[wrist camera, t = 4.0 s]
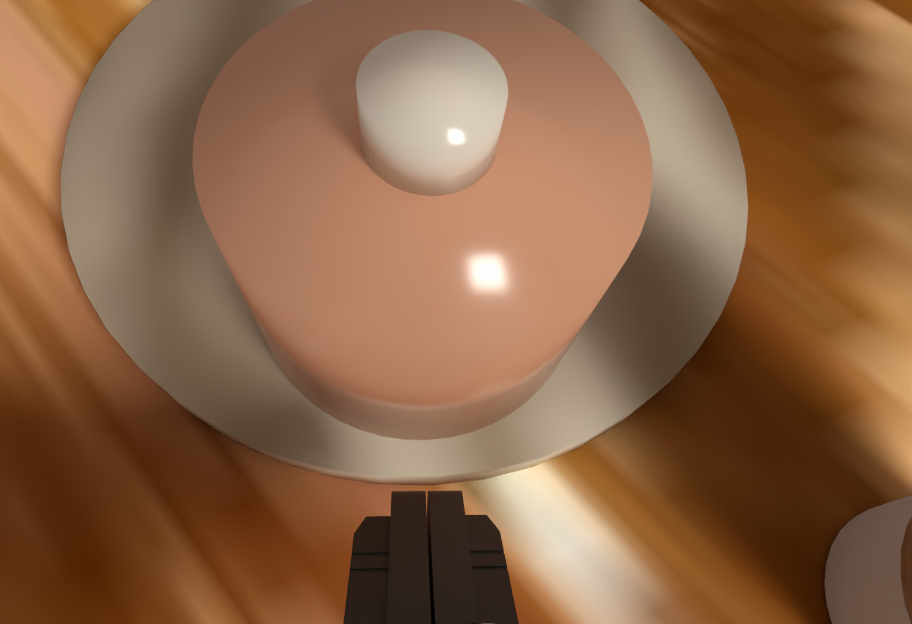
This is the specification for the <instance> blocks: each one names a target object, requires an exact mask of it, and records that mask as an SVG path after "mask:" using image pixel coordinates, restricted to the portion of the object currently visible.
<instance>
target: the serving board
mask: <svg viewBox="0 0 912 624" xmlns="http://www.w3.org/2000/svg"><path fill="white" fill-rule="evenodd" d="M310 1H313V0H154V1H152V2H151V3H150V4H149V5H148V6H146V7H145V8H144V9H143V10H142V11H141V12H140V13H139V14H138V15H137V16H136V17H135V18H134V19H133V20H132V21H131V22H130V23H129V24H128V25H127V26H126V27H125V29H124V30H123V31H122V32H121V33H120V34H119V35H118V36H117V37H116V38H115V40H114V41H113V43H112V44H111V45H110V47H109V48H108V50H107V51H106V52H105V54H104V55H103V57H102V58H101V59H100V61H99V62H98V64H97V65H96V66H95V68H94V70H93V72H92V74H91V76H90V78H89V80H88V82H87V84H86V86H85V88H84V89H83V91H82V93H81V95H80V97H79V99H78V102H77V105H76V108H75V111H74V114H73V117H72V120H71V123H70V126H69V129H68V132H67V136H66V142H65V149H64V155H63V162H62V168H61V212H62V217H63V222H64V227H65V232H66V237H67V243H68V248H69V252H70V255H71V258H72V260H73V263H74V265H75V268H76V271H77V273H78V276H79V278H80V281H81V284H82V286H83V289H84V292H85V293H86V295H87V297H88V298H89V300H90V302H91V303H92V305H93V307H94V308H95V310H96V312H97V314H98V315H99V317H100V319H101V320H102V322H103V324H104V325H105V327H106V329H107V330H108V332H109V333H110V334H111V335H112V336H113V338H114V339H115V340H116V341H117V342H118V343H119V345H120V346H121V347H122V348H123V349H124V351H125V352H126V353H127V354H128V355H129V357H130V358H131V359H132V360H133V361H134V363H135V364H136V365H137V366H138V367H139V368H140V369H141V370H142V371H143V372H144V373H145V374H146V375H148V376H149V377H150V378H151V379H152V380H153V381H154V382H155V383H156V384H157V385H159V386H160V387H161V388H162V389H163V390H164V391H165V392H167V393H168V394H169V395H170V396H171V397H172V398H173V399H175V400H176V401H177V402H178V403H179V404H180V405H182V406H183V407H184V408H185V409H186V410H187V411H188V412H190V413H191V414H192V415H194V416H195V417H197V418H198V419H200V420H201V421H203V422H205V423H206V424H208V425H209V426H211V427H212V428H214V429H216V430H217V431H219V432H220V433H222V434H223V435H225V436H227V437H228V438H230V439H231V440H233V441H235V442H237V443H239V444H241V445H244V446H246V447H248V448H250V449H253V450H255V451H257V452H259V453H261V454H264V455H266V456H268V457H270V458H273V459H275V460H277V461H279V462H282V463H286V464H289V465H293V466H296V467H299V468H303V469H306V470H310V471H313V472H316V473H320V474H323V475H327V476H331V477H337V478H344V479H350V480H357V481H363V482H370V483H377V484H399V485H439V484H447V483H456V482H464V481H473V480H481V479H487V478H491V477H495V476H499V475H503V474H506V473H510V472H514V471H518V470H522V469H526V468H530V467H533V466H536V465H538V464H541V463H543V462H546V461H548V460H550V459H553V458H555V457H558V456H560V455H563V454H565V453H567V452H570V451H572V450H575V449H577V448H579V447H581V446H582V445H584V444H586V443H587V442H589V441H591V440H593V439H594V438H596V437H598V436H599V435H601V434H603V433H604V432H606V431H608V430H609V429H611V428H613V427H615V426H616V425H618V424H619V423H620V422H621V421H623V420H624V419H625V418H626V417H628V416H629V415H630V414H631V413H633V412H634V411H635V410H636V409H638V408H639V407H640V406H641V405H642V404H644V403H645V402H646V401H647V400H649V399H650V398H651V397H652V396H653V395H655V394H656V393H657V392H658V391H659V390H661V389H662V388H663V387H664V386H665V385H667V384H668V383H669V382H670V381H671V380H672V379H673V378H674V376H675V375H676V374H677V373H678V372H679V371H680V370H681V369H682V368H683V366H684V365H685V364H686V363H687V362H688V361H689V360H690V359H691V358H692V357H693V355H694V354H695V353H696V352H697V351H698V350H699V348H700V347H701V345H702V344H703V342H704V340H705V339H706V337H707V336H708V334H709V333H710V331H711V330H712V328H713V326H714V325H715V323H716V322H717V320H718V319H719V317H720V316H721V313H722V311H723V309H724V306H725V304H726V302H727V300H728V297H729V295H730V293H731V290H732V288H733V286H734V283H735V281H736V278H737V274H738V270H739V266H740V262H741V258H742V254H743V250H744V246H745V241H746V228H747V216H748V197H747V184H746V172H745V167H744V163H743V159H742V154H741V150H740V146H739V141H738V137H737V135H736V132H735V130H734V127H733V125H732V122H731V119H730V117H729V114H728V112H727V109H726V107H725V105H724V103H723V101H722V99H721V97H720V96H719V94H718V92H717V90H716V88H715V86H714V85H713V83H712V81H711V79H710V77H709V76H708V74H707V73H706V72H705V70H704V69H703V67H702V66H701V65H700V63H699V62H698V61H697V59H696V58H695V56H694V55H693V54H692V52H691V51H690V50H689V48H688V47H687V46H686V45H685V44H684V43H683V42H682V41H681V40H680V38H679V37H678V36H677V35H676V34H675V33H674V32H673V31H672V30H671V29H670V28H669V27H668V25H667V24H666V23H665V22H664V21H662V20H661V19H660V18H659V17H658V16H657V15H656V14H654V13H653V12H652V11H651V10H650V9H649V8H647V7H646V6H645V5H644V4H643V3H642V2H641V1H639V0H514V1H517V2H520V3H522V4H524V5H526V6H528V7H531V8H533V9H535V10H537V11H539V12H541V13H543V14H545V15H547V16H548V17H550V18H552V19H553V20H555V21H557V22H558V23H560V24H562V25H563V26H565V27H566V28H568V29H569V30H570V31H572V32H573V33H574V34H576V35H577V36H578V37H580V38H581V39H583V40H584V41H585V42H586V43H587V44H588V45H589V46H591V47H592V48H593V49H594V50H595V51H596V52H597V53H598V54H599V55H600V56H601V57H602V58H603V59H604V60H605V61H606V62H607V63H608V65H609V66H610V67H611V68H612V69H613V71H614V72H615V73H616V74H617V75H618V76H619V78H620V80H621V81H622V83H623V84H624V86H625V87H626V89H627V90H628V92H629V93H630V95H631V96H632V98H633V100H634V103H635V105H636V107H637V109H638V111H639V113H640V115H641V117H642V120H643V123H644V126H645V129H646V133H647V136H648V139H649V144H650V151H651V157H652V193H651V199H650V205H649V211H648V214H647V217H646V220H645V223H644V226H643V229H642V232H641V234H640V236H639V238H638V240H637V242H636V244H635V246H634V248H633V249H632V251H631V253H630V255H629V257H628V259H627V260H626V262H625V263H624V265H623V266H622V268H621V269H620V271H619V272H618V274H617V275H616V277H615V278H614V280H613V281H612V283H611V284H610V286H609V287H608V289H607V291H606V292H605V294H604V295H603V297H602V298H601V300H600V301H599V303H598V304H597V306H596V307H595V309H594V310H593V312H592V313H591V315H590V316H589V318H588V320H587V321H586V323H585V324H584V326H583V327H582V329H581V330H580V332H579V333H578V335H577V336H576V338H575V339H574V341H573V342H572V344H571V345H570V347H569V348H568V350H567V352H566V353H565V355H564V356H563V358H562V359H561V361H560V362H559V364H558V365H557V367H556V368H555V370H554V371H553V373H552V374H551V375H550V377H549V378H548V379H547V381H546V382H545V383H544V385H543V386H542V387H541V388H540V389H539V390H538V391H537V392H536V393H535V394H534V395H533V396H532V397H531V398H530V399H529V400H528V401H527V402H526V403H524V404H523V405H522V406H520V407H519V408H518V409H516V410H515V411H514V412H512V413H511V414H509V415H508V416H506V417H504V418H502V419H500V420H499V421H497V422H495V423H493V424H491V425H489V426H486V427H484V428H481V429H478V430H476V431H473V432H471V433H466V434H462V435H458V436H454V437H450V438H441V439H432V440H403V439H397V438H390V437H384V436H379V435H376V434H372V433H369V432H365V431H362V430H359V429H356V428H354V427H352V426H350V425H347V424H345V423H343V422H341V421H338V420H337V419H335V418H333V417H332V416H330V415H329V414H327V413H325V412H324V411H322V410H320V409H319V408H318V407H317V406H315V405H314V404H313V403H312V402H310V401H309V400H308V399H307V398H306V397H304V396H303V395H302V394H301V393H300V392H299V390H298V389H297V388H296V387H295V386H294V385H293V384H292V383H291V382H290V381H289V380H288V378H287V377H286V375H285V374H284V372H283V371H282V369H281V368H280V366H279V365H278V363H277V362H276V360H275V358H274V356H273V354H272V352H271V350H270V348H269V346H268V344H267V342H266V340H265V338H264V336H263V334H262V332H261V330H260V328H259V326H258V324H257V322H256V320H255V318H254V316H253V314H252V312H251V310H250V308H249V306H248V304H247V302H246V300H245V298H244V296H243V294H242V292H241V290H240V288H239V286H238V284H237V282H236V280H235V278H234V276H233V274H232V272H231V270H230V268H229V266H228V264H227V262H226V260H225V258H224V256H223V254H222V252H221V250H220V248H219V246H218V244H217V242H216V240H215V238H214V236H213V234H212V232H211V230H210V228H209V226H208V224H207V222H206V219H205V217H204V215H203V213H202V209H201V206H200V203H199V199H198V196H197V192H196V189H195V181H194V173H193V164H192V161H193V141H194V134H195V130H196V125H197V121H198V116H199V113H200V110H201V108H202V105H203V103H204V100H205V98H206V95H207V93H208V91H209V89H210V87H211V86H212V84H213V82H214V81H215V79H216V77H217V76H218V74H219V72H220V71H221V69H222V68H223V67H224V66H225V64H226V63H227V62H228V61H229V59H230V58H231V57H232V56H233V55H234V53H235V52H236V51H237V50H238V49H239V48H240V47H241V46H242V45H243V44H244V43H246V42H247V41H248V40H249V39H250V38H251V37H252V36H253V35H254V34H255V33H257V32H258V31H260V30H261V29H262V28H264V27H265V26H266V25H268V24H269V23H271V22H272V21H273V20H275V19H277V18H278V17H280V16H282V15H284V14H285V13H287V12H289V11H291V10H293V9H294V8H296V7H299V6H301V5H303V4H306V3H308V2H310Z"/></svg>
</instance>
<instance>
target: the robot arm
mask: <svg viewBox="0 0 912 624" xmlns="http://www.w3.org/2000/svg"><path fill="white" fill-rule="evenodd" d="M344 624H518V619H517V614H516V609H515V604H514V599H513V594H512V589H511V584H510V579H509V574H508V570H507V565H506V560H505V555H504V550H503V545H502V540H501V535H500V531H499V530H498V529H497V527H496V526H495V525H494V524H493V522H492V521H491V520H490V519H489V517H488V516H487V515H465V511H464V503H463V495H462V491H428V499H427V516H426V494H425V491H402V492H392V498H391V516H376V517H366V518H365V519H364V520H363V522H362V523H361V525H360V526H359V527H358V529H357V530H356V532H355V533H354V539H353V547H352V557H351V564H350V573H349V581H348V590H347V599H346V607H345V616H344Z"/></svg>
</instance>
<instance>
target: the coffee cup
mask: <svg viewBox="0 0 912 624" xmlns="http://www.w3.org/2000/svg"><path fill="white" fill-rule="evenodd" d="M824 585H825V595H826V604H827V608H828V612H829V615H830V619H831V623H832V624H912V495H910V496H907V497H904V498H901V499H898V500H895V501H892V502H889V503H886V504H883V505H880V506H877V507H874V508H871V509H868V510H866V511H864V512H862V513H861V514H859V515H857V516H856V517H854V518H853V519H851V520H850V521H849V522H848V523H847V524H846V525H845V526H844V527H843V528H842V529H841V530H840V532H839V533H838V535H837V537H836V538H835V540H834V542H833V544H832V545H831V548H830V552H829V555H828V558H827V562H826V569H825V582H824Z"/></svg>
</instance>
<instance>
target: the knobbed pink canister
mask: <svg viewBox="0 0 912 624" xmlns="http://www.w3.org/2000/svg"><path fill="white" fill-rule="evenodd" d="M192 164H193V173H194V181H195V189H196V192H197V196H198V199H199V203H200V206H201V209H202V213H203V215H204V217H205V219H206V222H207V224H208V226H209V228H210V230H211V232H212V234H213V236H214V238H215V240H216V242H217V244H218V246H219V248H220V250H221V252H222V254H223V256H224V258H225V260H226V262H227V264H228V266H229V268H230V270H231V272H232V274H233V276H234V278H235V280H236V282H237V284H238V286H239V288H240V290H241V292H242V294H243V296H244V298H245V300H246V302H247V304H248V306H249V308H250V310H251V312H252V314H253V316H254V318H255V320H256V322H257V324H258V326H259V328H260V330H261V332H262V334H263V336H264V338H265V340H266V342H267V344H268V346H269V348H270V350H271V352H272V354H273V356H274V358H275V360H276V362H277V363H278V365H279V366H280V368H281V369H282V371H283V372H284V374H285V375H286V377H287V378H288V380H289V381H290V382H291V383H292V384H293V385H294V386H295V387H296V388H297V389H298V390H299V392H300V393H301V394H302V395H303V396H304V397H306V398H307V399H308V400H309V401H310V402H312V403H313V404H314V405H315V406H317V407H318V408H319V409H320V410H322V411H324V412H325V413H327V414H329V415H330V416H332V417H333V418H335V419H337V420H338V421H341V422H343V423H345V424H347V425H350V426H352V427H354V428H356V429H359V430H362V431H365V432H369V433H372V434H376V435H379V436H384V437H390V438H397V439H403V440H432V439H441V438H450V437H454V436H458V435H462V434H466V433H471V432H473V431H476V430H478V429H481V428H484V427H486V426H489V425H491V424H493V423H495V422H497V421H499V420H500V419H502V418H504V417H506V416H508V415H509V414H511V413H512V412H514V411H515V410H516V409H518V408H519V407H520V406H522V405H523V404H524V403H526V402H527V401H528V400H529V399H530V398H531V397H532V396H533V395H534V394H535V393H536V392H537V391H538V390H539V389H540V388H541V387H542V386H543V385H544V383H545V382H546V381H547V379H548V378H549V377H550V375H551V374H552V373H553V371H554V370H555V368H556V367H557V365H558V364H559V362H560V361H561V359H562V358H563V356H564V355H565V353H566V352H567V350H568V348H569V347H570V345H571V344H572V342H573V341H574V339H575V338H576V336H577V335H578V333H579V332H580V330H581V329H582V327H583V326H584V324H585V323H586V321H587V320H588V318H589V316H590V315H591V313H592V312H593V310H594V309H595V307H596V306H597V304H598V303H599V301H600V300H601V298H602V297H603V295H604V294H605V292H606V291H607V289H608V287H609V286H610V284H611V283H612V281H613V280H614V278H615V277H616V275H617V274H618V272H619V271H620V269H621V268H622V266H623V265H624V263H625V262H626V260H627V259H628V257H629V255H630V253H631V251H632V249H633V248H634V246H635V244H636V242H637V240H638V238H639V236H640V234H641V232H642V229H643V226H644V223H645V220H646V217H647V214H648V211H649V205H650V199H651V193H652V157H651V151H650V144H649V139H648V136H647V133H646V129H645V126H644V123H643V120H642V117H641V115H640V113H639V111H638V109H637V107H636V105H635V103H634V100H633V98H632V96H631V95H630V93H629V92H628V90H627V89H626V87H625V86H624V84H623V83H622V81H621V80H620V78H619V76H618V75H617V74H616V73H615V72H614V71H613V69H612V68H611V67H610V66H609V65H608V63H607V62H606V61H605V60H604V59H603V58H602V57H601V56H600V55H599V54H598V53H597V52H596V51H595V50H594V49H593V48H592V47H591V46H589V45H588V44H587V43H586V42H585V41H584V40H583V39H581V38H580V37H578V36H577V35H576V34H574V33H573V32H572V31H570V30H569V29H568V28H566V27H565V26H563V25H562V24H560V23H558V22H557V21H555V20H553V19H552V18H550V17H548V16H547V15H545V14H543V13H541V12H539V11H537V10H535V9H533V8H531V7H528V6H526V5H524V4H522V3H520V2H517V1H514V0H313V1H310V2H308V3H306V4H303V5H301V6H299V7H296V8H294V9H293V10H291V11H289V12H287V13H285V14H284V15H282V16H280V17H278V18H277V19H275V20H273V21H272V22H271V23H269V24H268V25H266V26H265V27H264V28H262V29H261V30H260V31H258V32H257V33H255V34H254V35H253V36H252V37H251V38H250V39H249V40H248V41H247V42H246V43H244V44H243V45H242V46H241V47H240V48H239V49H238V50H237V51H236V52H235V53H234V55H233V56H232V57H231V58H230V59H229V61H228V62H227V63H226V64H225V66H224V67H223V68H222V69H221V71H220V72H219V74H218V76H217V77H216V79H215V81H214V82H213V84H212V86H211V87H210V89H209V91H208V93H207V95H206V98H205V100H204V103H203V105H202V108H201V110H200V113H199V116H198V121H197V125H196V130H195V134H194V141H193V161H192Z"/></svg>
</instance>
